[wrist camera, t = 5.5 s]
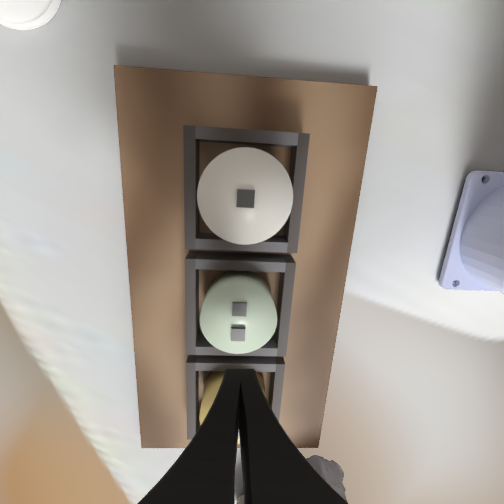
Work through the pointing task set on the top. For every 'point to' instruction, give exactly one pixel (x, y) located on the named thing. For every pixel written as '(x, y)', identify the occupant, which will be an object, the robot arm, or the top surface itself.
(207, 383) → the button three
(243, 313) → the button two
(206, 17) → the top surface
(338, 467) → the stone
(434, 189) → the top surface
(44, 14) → the chess piece
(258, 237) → the button one
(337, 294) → the button board
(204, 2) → the top surface
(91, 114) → the top surface
